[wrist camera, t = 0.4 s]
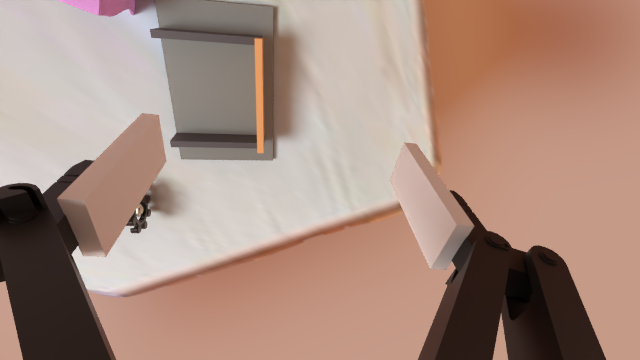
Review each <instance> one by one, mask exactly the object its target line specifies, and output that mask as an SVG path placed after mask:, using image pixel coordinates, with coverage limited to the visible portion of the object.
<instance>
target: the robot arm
mask: <svg viewBox="0 0 640 360" xmlns="http://www.w3.org/2000/svg"><path fill="white" fill-rule="evenodd" d="M165 163H166V157H165V151H164V145H163V138H162V132H161V126H160V120H159V115H153V114H144V113H142V114H141V115H140V116H139V117H138V118H137V119H136V120H135V121H134V122H133V123H132V124H131V125H130V126H129V127H128V128H127V129H126V130H125V131H124V132H123V133H122V134H121V135H120V136H119V137H118V138H117V139H116V140H115V141H114V142H113V143H112V144H111V145H110V146H109V147H108V148H107V149H106V150H105V151H104V152H103V153H102V154H101V155H100V156H99V157H98V158H97V159H96V160H95V161H92V160H84V161H82V162H80V163H78V164H76V165H74V166H72V167H71V168H70V169H69V170H68V171H67V172H66V173H65V174H64V176H62V177H60V178H59V179H58V180H57V182H55V183H54V184H53V185H52V186H51V187H50V188H49V189H47V190H46V191H45V192H44V193H43V194H42V193H41V191H40V189H39V188H38V187H37V186H36V185H33V184H29V183H17V184H11V185H6V186H3V187H0V282H3V281H6V285H7V290H8V294H9V299H10V303H11V307H12V312H13V316H14V321H15V325H16V330H17V334H18V339H19V343H20V348H21V352H22V356H23V360H116V358H115V356H114V353H113V351H112V349H111V346H110V344H109V342H108V339H107V337H106V335H105V332H104V330H103V327H102V325H101V323H100V320H99V318H98V316H97V313H96V311H95V309H94V306H93V304H92V301H91V299H90V297H89V294H88V292H87V289H86V287H85V285H84V282H83V280H82V278H81V275H80V273H79V271H78V268H77V266H76V263H75V261H74V259H73V257H72V255H71V254H72V253H73V251H74V250H75V249H76V247H77V246H79V248H80V251H81V253H82V255H83V256H96V257H106V256H107V254H108V253H109V251H110V249H111V248H112V246H113V245H114V243H115V242H116V240H117V238H118V237H119V235H120V234H121V232H122V231H123V229H124V227H125V226H126V224H127V223H128V221H129V219H130V218H131V216H132V215H133V213H134V212H135V210H136V208H137V207H138V205H139V204H140V202H141V200H142V199H143V197H144V196H145V194H146V193H147V191H148V189H149V188H150V186H151V185H152V183H153V181H154V180H155V178H156V177H157V175H158V174H159V172H160V170H161V169H162V167H163V166H164V164H165ZM390 183H391V185H392V187H393V189H394V192H395V194H396V196H397V198H398V200H399V202H400V205H401V207H402V209H403V211H404V213H405V215H406V218H407V220H408V222H409V224H410V226H411V228H412V231H413V233H414V235H415V237H416V239H417V241H418V244H419V246H420V248H421V250H422V252H423V254H424V257H425V259H426V261H427V263H428V265H429V267H430V269H439V270H446V269H447V267H448V266H449V264H450V263H451V261H452V262H453V263H454V265H455V267H456V269H455V270H454V272H453V273H452V275H451V276H450V278H449V279H448V280H447V282H446V284H447V285H448V286H447V288H446V291H445V293H444V296H443V298H442V301H441V303H440V306H439V308H438V311H437V313H436V316H435V318H434V321H433V323H432V326H431V328H430V331H429V333H428V336H427V338H426V341H425V343H424V346H423V348H422V351H421V353H420V356H419V358H418V360H492V359H493V354H494V348H495V343H496V337H497V331H498V326H499V320H500V315H501V313H502V320H503V327H504V334H505V340H506V347H507V354H508V360H606V358H605V356H604V353H603V351H602V348H601V346H600V344H599V341H598V339H597V337H596V335H595V332H594V329H593V327H592V325H591V322H590V320H589V317H588V315H587V313H586V310H585V308H584V305H583V303H582V301H581V299H580V296H579V293H578V291H577V289H576V286H575V284H574V282H573V279H572V277H571V274H570V272H569V269H568V267H567V265H566V263H565V262H564V260H563V259H562V258H561V257H560V256H559V255H558V254H557V253H555V252H554V251H552V250H550V249H548V248H546V247H542V246H533V247H532V248H531V249H530V250H529V251H528V252H523V251H520V250H517V249H513V248H512V247H511V246H510V244H509V243H508V242H507V241H506V240H505V239H504V238H503V237H501V236H500V235H498V234H496V233H494V232H491V231H487V230H486V229H485V227H484V226H483V225H482V224H481V222H480V221H479V219H478V218H477V217H476V215H475V214H474V213H473V212H472V210H471V209H470V207H469V206H468V205H467V203H466V202H465V201H464V199H463V198H462V197H461V196H460V195H458V194H457V193H456V192H455V191H451V190H449V189H448V188H447V186H446V185H445V184H444V182H443V181H442V179H441V178H440V177H439V175H438V174H437V172H436V171H435V169H434V168H433V167H432V165H431V164H430V162H429V161H428V160H427V158H426V157H425V155H424V154H423V153H422V151H421V150H420V148H419V147H418V145H417V144H413V143H404V144H403V146H402V149H401V152H400V155H399V157H398V160H397V163H396V165H395V168H394V171H393V173H392V176H391V179H390Z"/></svg>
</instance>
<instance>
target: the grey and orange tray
mask: <svg viewBox="0 0 640 360" xmlns="http://www.w3.org/2000/svg"><path fill="white" fill-rule="evenodd" d="M155 5H156V11H157V17H158V23H159V28H156V29H150V32H151V38H161V41H162V47H163V53H164V59H165V65H166V71H167V77H168V83H169V89H170V95H171V101H172V107H173V113H174V119H175V125H176V131H177V133H176V134H175V136H174V137H173V138H172V139H171V141H170V143H171V147H179V150H180V156H181V159H205V160H273V7H270V6H259V5H249V4H238V3H228V2H217V1H207V0H155Z"/></svg>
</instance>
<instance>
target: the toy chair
mask: <svg viewBox="0 0 640 360" xmlns="http://www.w3.org/2000/svg"><path fill="white" fill-rule="evenodd" d="M59 1H61V2H64V3H67V4H69V5H72V6H75V7H77V8H80V9H83V10H85V11H88V12H91V13H93V14H96V15H104V16H114V15H117V14H118V13H120V12H122V11H124V10H126V9H129V11H130V13H131V14H132V15H134V12H135V1H136V0H59Z"/></svg>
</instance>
